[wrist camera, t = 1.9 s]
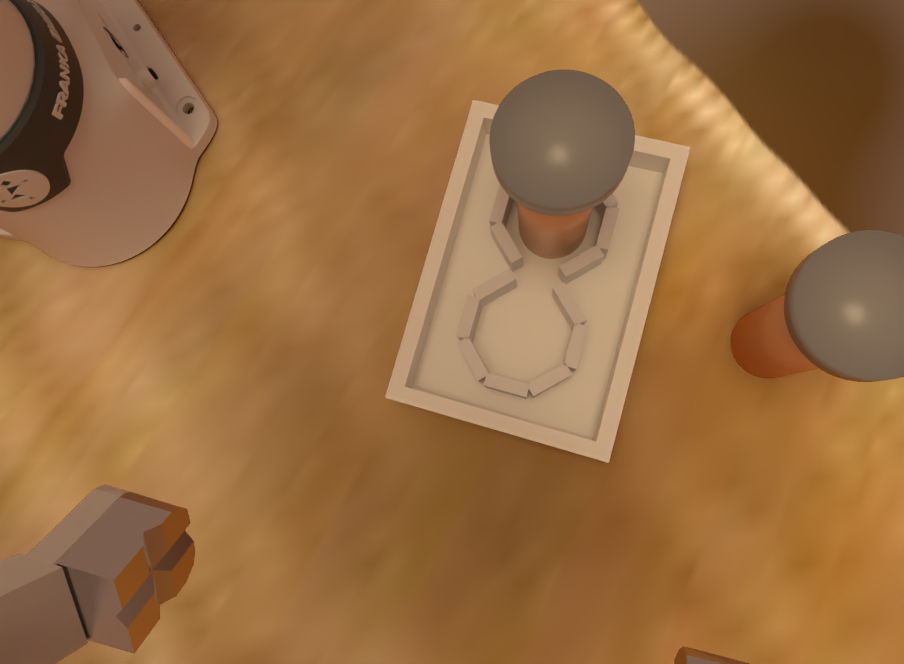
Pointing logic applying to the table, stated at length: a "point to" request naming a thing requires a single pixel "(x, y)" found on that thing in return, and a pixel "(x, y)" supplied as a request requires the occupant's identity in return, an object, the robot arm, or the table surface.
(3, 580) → the robot arm
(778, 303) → the brown pin with head
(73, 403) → the table surface
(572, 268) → the housing
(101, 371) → the table surface
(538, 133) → the grey capped peg
